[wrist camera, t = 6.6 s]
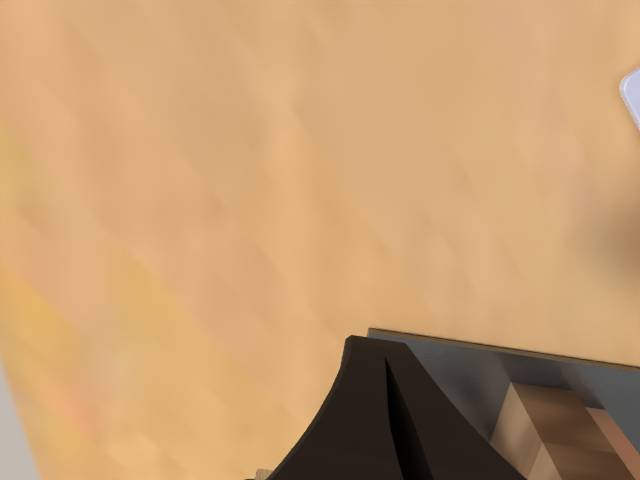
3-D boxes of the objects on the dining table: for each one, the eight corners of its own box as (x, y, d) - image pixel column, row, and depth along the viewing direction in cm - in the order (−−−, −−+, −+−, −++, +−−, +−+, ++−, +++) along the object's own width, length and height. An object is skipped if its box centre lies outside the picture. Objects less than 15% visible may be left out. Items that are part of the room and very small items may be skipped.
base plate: (696, 375, 22) (701, 381, 22) (618, 527, 26) (622, 534, 26) (368, 328, 22) (369, 332, 22) (335, 487, 26) (335, 493, 25)
